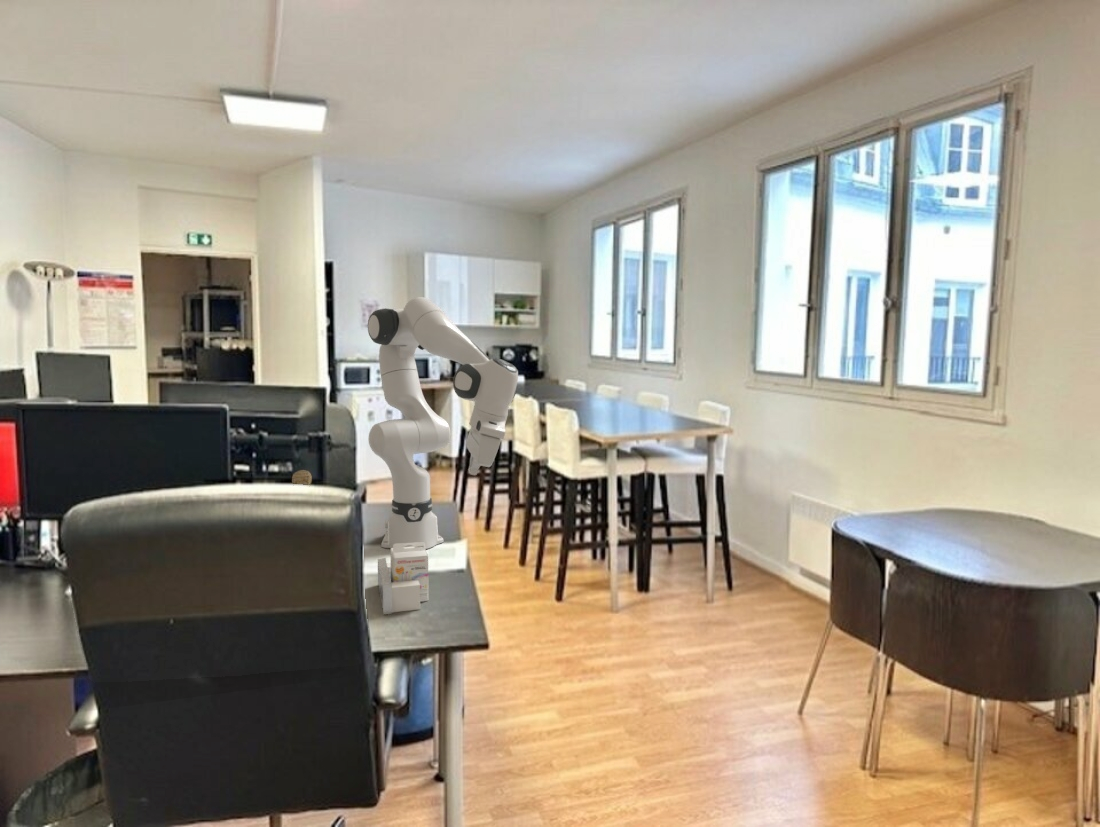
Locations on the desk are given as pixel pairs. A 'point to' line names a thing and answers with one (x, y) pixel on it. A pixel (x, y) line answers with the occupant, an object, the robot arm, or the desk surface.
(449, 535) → the desk surface
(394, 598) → the box
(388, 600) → the rail
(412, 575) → the ink box
